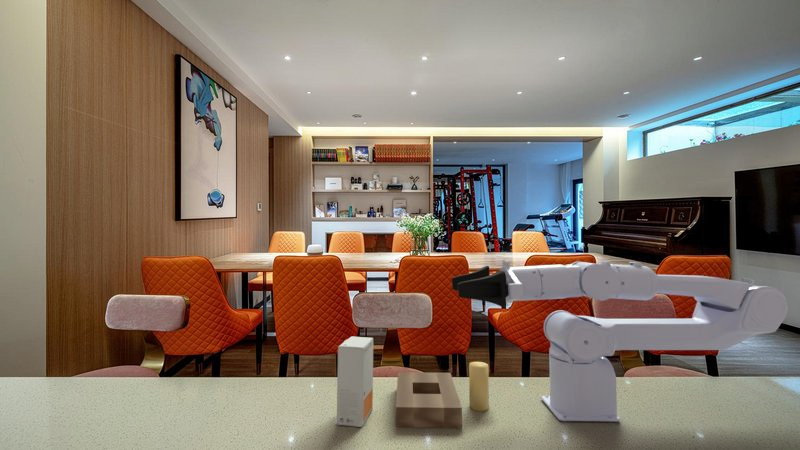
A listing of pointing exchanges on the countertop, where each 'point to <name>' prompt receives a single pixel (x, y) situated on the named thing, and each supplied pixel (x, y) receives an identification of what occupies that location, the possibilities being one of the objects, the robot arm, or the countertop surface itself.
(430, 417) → the socket block
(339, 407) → the skincare box
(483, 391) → the peg
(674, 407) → the countertop surface
